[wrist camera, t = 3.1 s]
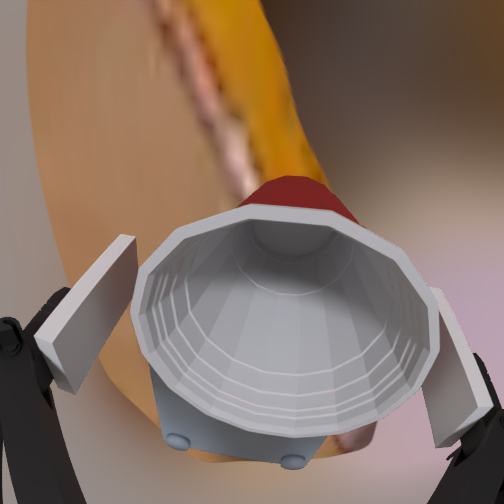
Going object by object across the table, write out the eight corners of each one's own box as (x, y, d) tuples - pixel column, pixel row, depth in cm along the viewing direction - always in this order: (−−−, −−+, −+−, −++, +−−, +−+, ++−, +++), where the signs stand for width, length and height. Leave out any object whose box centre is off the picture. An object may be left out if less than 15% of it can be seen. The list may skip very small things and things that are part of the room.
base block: (352, 340, 25) (359, 398, 20) (307, 428, 33) (305, 472, 28) (169, 308, 26) (143, 360, 21) (176, 405, 33) (162, 447, 28)
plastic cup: (220, 114, 18) (114, 171, 7) (397, 160, 18) (502, 270, 7) (196, 267, 23) (131, 407, 13) (342, 301, 23) (357, 452, 13)
